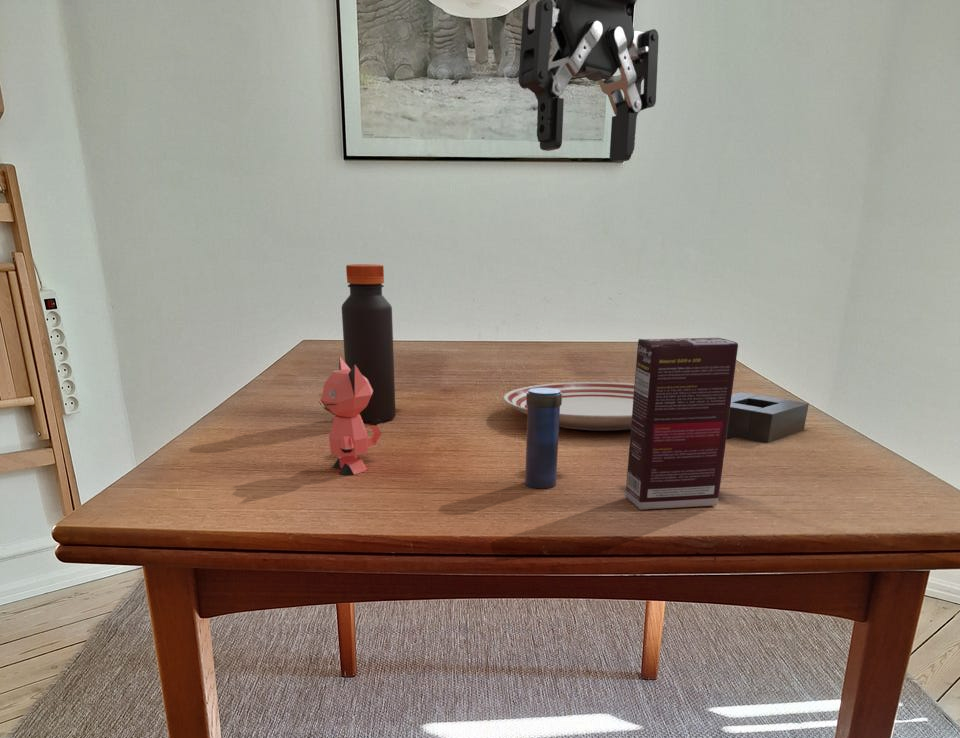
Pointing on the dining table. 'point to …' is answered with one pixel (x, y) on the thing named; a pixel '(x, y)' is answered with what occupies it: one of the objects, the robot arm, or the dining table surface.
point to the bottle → (370, 338)
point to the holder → (764, 417)
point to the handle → (542, 436)
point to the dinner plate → (586, 404)
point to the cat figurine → (349, 417)
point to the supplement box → (679, 421)
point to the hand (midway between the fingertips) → (586, 155)
